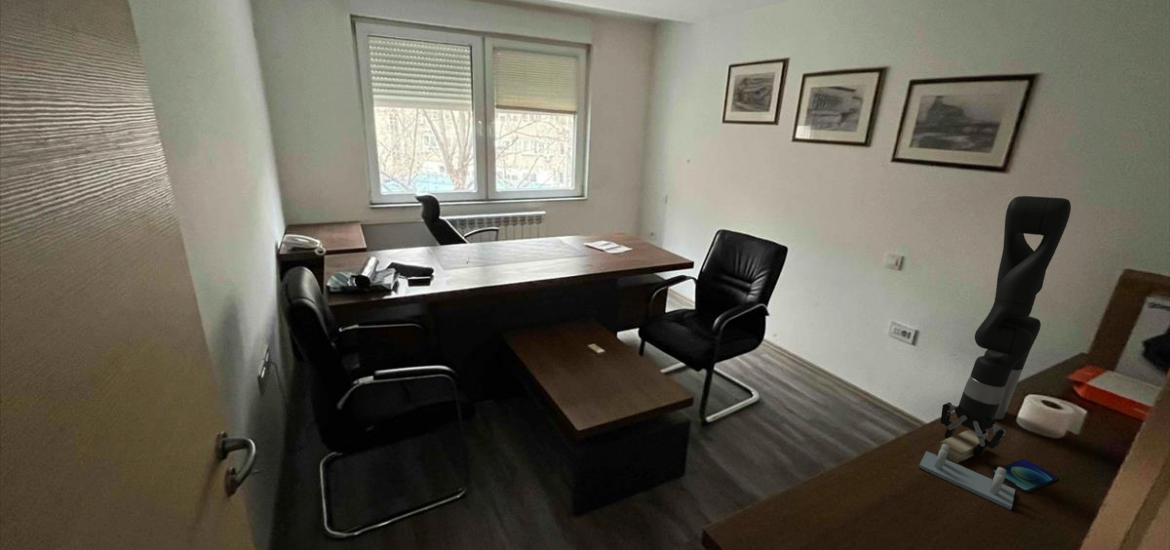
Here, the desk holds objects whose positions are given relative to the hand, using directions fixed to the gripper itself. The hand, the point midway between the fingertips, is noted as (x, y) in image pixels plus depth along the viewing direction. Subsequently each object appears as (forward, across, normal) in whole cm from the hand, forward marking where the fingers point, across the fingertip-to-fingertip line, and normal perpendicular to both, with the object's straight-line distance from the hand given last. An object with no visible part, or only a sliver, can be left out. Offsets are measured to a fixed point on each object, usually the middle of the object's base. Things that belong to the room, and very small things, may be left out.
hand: (962, 447), depth 124 cm
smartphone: (+1, +12, +4) cm, 13 cm away
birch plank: (+1, 0, 0) cm, 1 cm away
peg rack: (+1, +6, -13) cm, 14 cm away
